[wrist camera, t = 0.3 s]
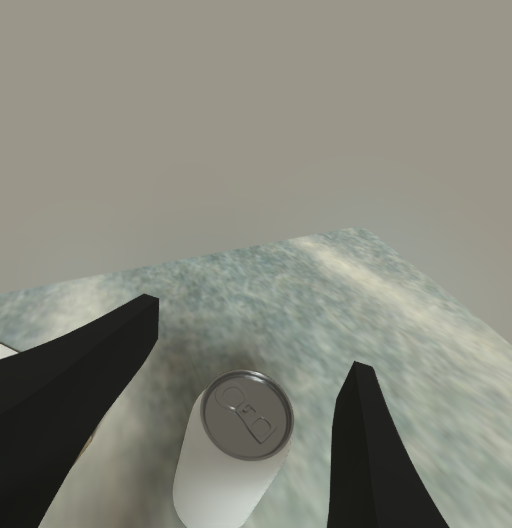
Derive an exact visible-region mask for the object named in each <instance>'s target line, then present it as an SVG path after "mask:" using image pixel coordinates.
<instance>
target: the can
mask: <svg viewBox="0 0 512 528" xmlns="http://www.w3.org/2000/svg"><path fill="white" fill-rule="evenodd" d="M293 426H294V415H293V409H292V406H291V403H290V401H289V399H288V397H287V395H286V393H285V392H284V391H283V389H282V388H281V387H280V386H279V385H278V384H277V383H276V382H275V381H274V380H272V379H271V378H269V377H268V376H266V375H264V374H262V373H259V372H256V371H253V370H247V369H237V370H231V371H228V372H225V373H223V374H221V375H219V376H218V377H216V378H215V379H214V380H213V381H212V382H211V383H210V384H209V385H208V386H207V388H206V389H205V390H204V391H203V392H202V393H201V394H200V396H199V397H198V398H197V400H196V402H195V404H194V406H193V408H192V411H191V414H190V418H189V421H188V425H187V429H186V433H185V437H184V441H183V445H182V449H181V453H180V457H179V461H178V465H177V469H176V473H175V478H174V483H173V502H174V506H175V509H176V512H177V514H178V516H179V518H180V520H181V521H182V522H183V524H184V525H185V526H186V527H187V528H240V527H241V526H242V524H243V523H244V522H245V521H246V520H247V518H248V517H249V515H250V514H251V512H252V511H253V509H254V508H255V506H256V505H257V503H258V502H259V500H260V499H261V497H262V496H263V494H264V493H265V491H266V490H267V488H268V487H269V485H270V484H271V482H272V481H273V479H274V477H275V476H276V474H277V473H278V471H279V470H280V468H281V466H282V465H283V463H284V461H285V460H286V458H287V456H288V453H289V450H290V447H291V443H292V431H293Z"/></svg>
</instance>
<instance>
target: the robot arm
mask: <svg viewBox="0 0 512 528" xmlns="http://www.w3.org/2000/svg"><path fill="white" fill-rule="evenodd" d="M158 321H159V298H156V297H153V296H150V295H147V294H142V295H141V296H139V297H137V298H135V299H133V300H131V301H129V302H128V303H126V304H124V305H122V306H120V307H118V308H117V309H115V310H113V311H111V312H109V313H107V314H106V315H104V316H102V317H100V318H98V319H96V320H94V321H92V322H90V323H88V324H86V325H84V326H82V327H80V328H78V329H76V330H74V331H72V332H70V333H68V334H65V335H63V336H61V337H59V338H56V339H54V340H52V341H49V342H47V343H44V344H42V345H39V346H37V347H34V348H31V349H29V350H26V351H23V352H20V353H17V354H14V355H11V356H8V357H5V358H2V359H0V528H38V526H39V525H40V523H41V521H42V519H43V517H44V515H45V513H46V511H47V510H48V508H49V506H50V504H51V502H52V501H53V499H54V497H55V495H56V494H57V492H58V490H59V488H60V487H61V485H62V483H63V481H64V479H65V478H66V476H67V474H68V473H69V471H70V469H71V468H72V466H73V464H74V463H75V461H76V459H77V458H78V456H79V454H80V452H81V451H82V449H83V448H84V446H85V444H86V443H87V441H88V440H89V438H90V436H91V435H92V433H93V431H94V430H95V428H96V427H97V425H98V424H99V422H100V421H101V419H102V418H103V416H104V415H105V414H106V412H107V411H108V410H109V408H110V407H111V406H112V404H113V403H114V402H115V400H116V399H117V398H118V397H119V395H120V394H121V393H122V391H123V390H124V389H125V387H126V386H127V385H128V383H129V382H130V381H131V380H132V378H133V377H134V376H135V374H136V373H137V372H138V370H139V369H140V368H141V366H142V365H143V363H144V362H145V360H146V359H147V357H148V355H149V354H150V352H151V350H152V349H153V347H154V345H155V343H156V341H157V340H158ZM327 528H449V526H448V525H447V523H446V522H445V520H444V518H443V517H442V515H441V514H440V512H439V510H438V509H437V507H436V505H435V504H434V502H433V500H432V499H431V497H430V495H429V493H428V492H427V490H426V488H425V486H424V484H423V483H422V481H421V479H420V477H419V475H418V473H417V471H416V470H415V468H414V466H413V464H412V462H411V460H410V458H409V455H408V453H407V451H406V449H405V447H404V445H403V443H402V441H401V438H400V436H399V434H398V432H397V429H396V427H395V425H394V422H393V420H392V417H391V415H390V413H389V410H388V408H387V405H386V402H385V400H384V397H383V394H382V391H381V389H380V386H379V383H378V380H377V377H376V374H375V371H374V369H373V367H372V366H369V365H365V364H362V363H359V362H356V361H354V363H353V365H352V367H351V369H350V371H349V373H348V375H347V378H346V380H345V382H344V384H343V386H342V388H341V390H340V392H339V394H338V397H337V399H336V405H335V411H334V418H333V425H332V445H331V476H330V502H329V514H328V522H327Z"/></svg>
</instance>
